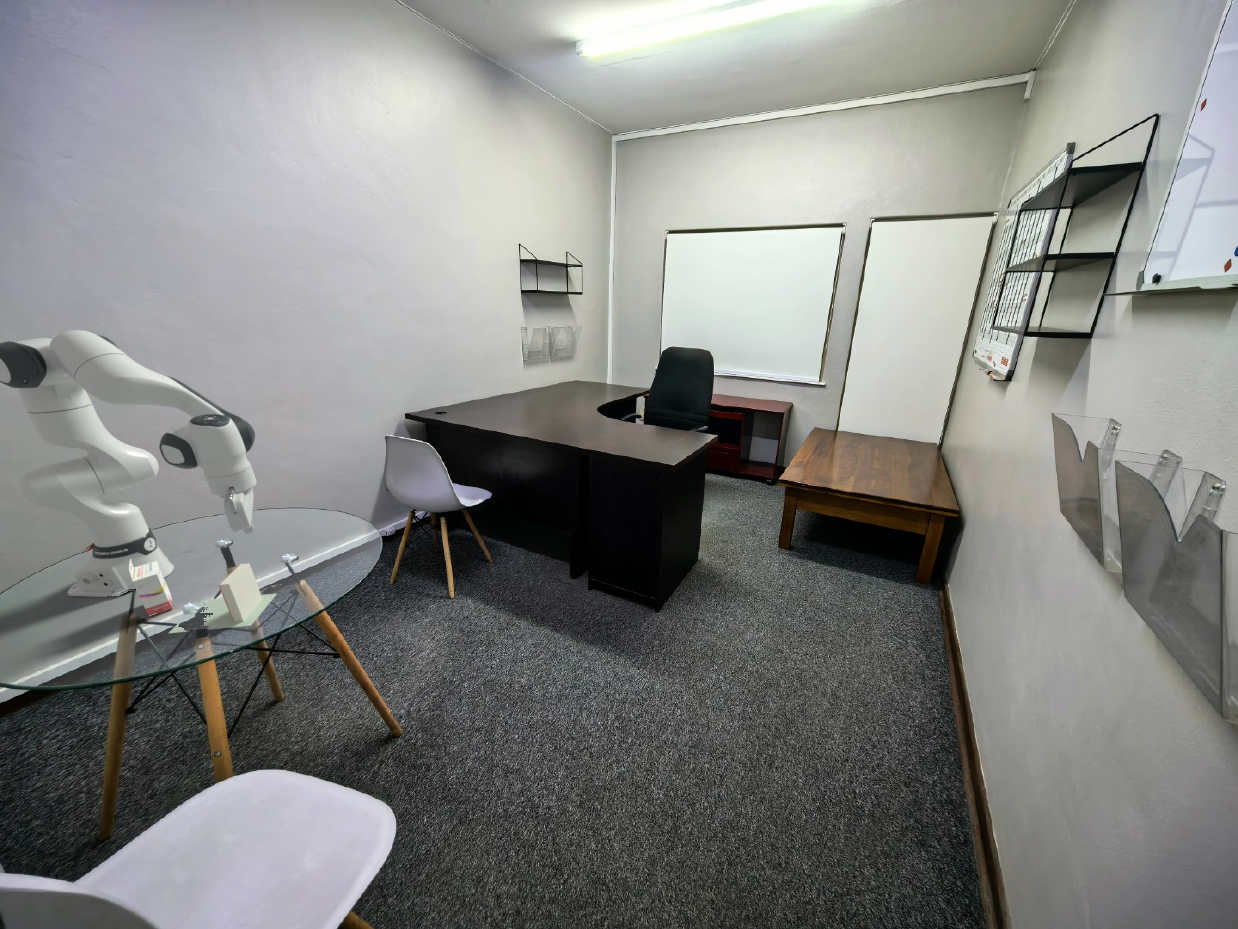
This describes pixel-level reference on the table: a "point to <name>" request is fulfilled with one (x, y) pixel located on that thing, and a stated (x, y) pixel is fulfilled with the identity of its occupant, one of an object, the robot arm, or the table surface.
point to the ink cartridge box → (151, 587)
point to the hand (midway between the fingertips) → (249, 530)
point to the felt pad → (226, 614)
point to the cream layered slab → (240, 592)
